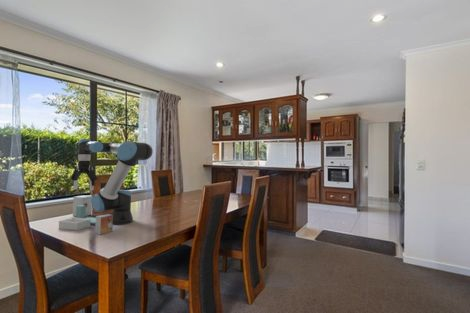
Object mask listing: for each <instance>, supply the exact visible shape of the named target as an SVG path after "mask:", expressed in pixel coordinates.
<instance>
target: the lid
mask: <svg viewBox="0 0 470 313" xmlns="http://www.w3.org/2000/svg"><path fill="white" fill-rule="evenodd" d="M75 218H84V219H90V223H91V224H96V217H93V216H91V217H90V216H88V217H87V216H86V205H79V206H77V207H76V216H75Z"/></svg>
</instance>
